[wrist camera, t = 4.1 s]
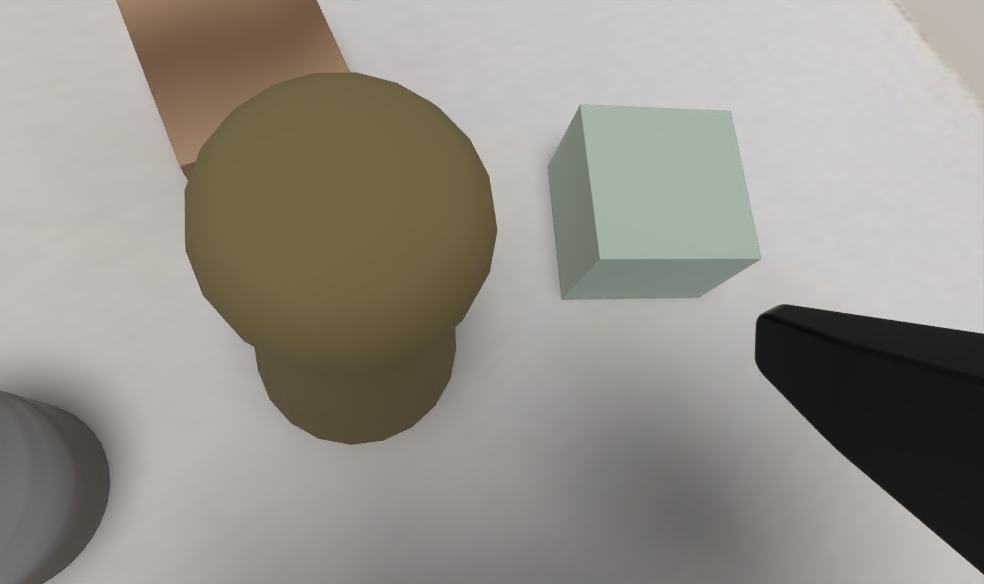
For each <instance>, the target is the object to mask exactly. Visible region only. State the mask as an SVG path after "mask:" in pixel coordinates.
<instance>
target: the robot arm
mask: <svg viewBox="0 0 984 584" xmlns="http://www.w3.org/2000/svg"><path fill="white" fill-rule="evenodd" d="M755 361H756V364H757V367H758V369H759V370H760V372H761V373H762V374H763V375H764V376H765V377H766V378H767V379H768V380H769V381H770V382H771V383H772V385H773V386H774V387H775V388H776V389H777V390H778V391H779V392H780V393H781V394H782V395H783V396H784V397H785V398H786V399H787V400H788V401H789V402H790V403H791V404H792V405H793V406H794V407H795V408H796V409H797V410H798V411H799V412H800V413H801V414H802V415H803V416H804V417H805V418H806V419H807V420H808V421H809V422H810V423H811V424H812V425H813V426H814V428H815V429H816V430H817V431H818V432H819V433H820V434H821V435H822V436H823V437H824V438H825V439H826V440H827V441H828V442H830V443H831V444H832V445H833V446H834V447H835V448H836V449H837V450H838V451H839V452H840V453H841V454H843V455H844V456H845V457H846V458H847V459H848V460H849V461H850V462H852V463H853V464H854V465H855V466H856V467H858V468H859V469H860V470H861V471H862V472H863V473H865V474H866V475H867V476H868V477H869V478H871V479H872V480H873V481H874V482H875V483H876V484H878V485H879V486H880V487H881V488H882V489H883V490H885V491H886V492H887V493H888V494H889V495H891V496H892V497H893V498H894V499H895V500H896V501H898V502H899V503H900V504H901V505H902V506H903V507H905V508H906V509H907V510H908V511H909V512H911V513H912V514H913V515H914V516H915V517H916V518H918V519H919V520H920V521H921V522H922V523H924V524H925V525H926V526H927V527H928V528H929V529H931V530H932V531H933V532H934V533H935V534H936V535H938V536H939V537H940V538H941V539H942V540H944V541H945V542H946V543H947V544H948V545H949V546H951V547H952V548H953V549H954V550H955V551H956V552H958V553H959V554H960V555H961V556H962V557H964V558H965V559H966V560H967V561H968V562H969V563H971V564H972V565H973V566H974V567H975V568H976V569H978V570H979V571H980V572H981V573H982V574H984V334H982V333H975V332H968V331H962V330H955V329H948V328H942V327H935V326H928V325H921V324H915V323H908V322H901V321H895V320H888V319H881V318H874V317H868V316H861V315H854V314H848V313H841V312H834V311H828V310H821V309H814V308H807V307H801V306H794V305H787V304H782V305H778V306H776V307H774V308H772V309H770V310H768V311H766V312H764V313H762V314H761V315H760V316H759V317H758V319H757V321H756V333H755Z"/></svg>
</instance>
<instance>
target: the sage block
mask: <svg viewBox="0 0 984 584" xmlns="http://www.w3.org/2000/svg"><path fill="white" fill-rule="evenodd" d="M548 174H549V184H550V193H551V202H552V212H553V221H554V231H555V240H556V250H557V259H558V268H559V278H560V287H561V297H562V300H571V299H634V298H698V297H700V296H702V295H704V294H705V293H707V292H708V291H710V290H712V289H713V288H715V287H717V286H718V285H720V284H721V283H723V282H725V281H726V280H728V279H729V278H731V277H733V276H734V275H736V274H738V273H739V272H741V271H742V270H744V269H746V268H747V267H749V266H750V265H752V264H754V263H755V262H757V261H759V260H760V259H761V254H760V249H759V244H758V239H757V235H756V230H755V225H754V220H753V215H752V210H751V205H750V201H749V196H748V191H747V186H746V181H745V176H744V172H743V167H742V162H741V157H740V152H739V147H738V143H737V138H736V133H735V128H734V123H733V118H732V114H731V111H718V110H695V109H672V108H649V107H626V106H604V105H581V104H580V106H579V108H578V110H577V112H576V114H575V116H574V118H573V119H572V121H571V123H570V125H569V127H568V129H567V131H566V133H565V135H564V137H563V138H562V140H561V142H560V144H559V146H558V148H557V150H556V152H555V154H554V156H553V158H552V159H551V161H550V163H549V165H548Z"/></svg>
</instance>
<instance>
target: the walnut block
mask: <svg viewBox="0 0 984 584" xmlns="http://www.w3.org/2000/svg"><path fill="white" fill-rule="evenodd" d="M116 1H117V4H118V6H119V9H120V12H121V14H122V17H123V19H124V22H125V25H126V27H127V30H128V32H129V35H130V38H131V40H132V43H133V46H134V48H135V51H136V53H137V56H138V59H139V61H140V64H141V66H142V69H143V72H144V74H145V77H146V79H147V82H148V85H149V87H150V90H151V92H152V95H153V98H154V100H155V103H156V105H157V108H158V111H159V113H160V116H161V119H162V121H163V124H164V126H165V129H166V132H167V134H168V137H169V139H170V142H171V145H172V147H173V150H174V152H175V155H176V158H177V160H178V163H179V165H180V167H181V169H182V171H183V173H184V174H185V176H186V178H187V180H189V178H190V175H191V172H192V170H193V167H194V164H195V162H196V159H197V156H198V154H199V151H200V148H201V147H202V146H203V145H204V143H205V142H206V141H207V140H208V139H209V137H210V136H211V135H212V134H213V133H214V131H215V130H216V129H217V128H218V127H219V125H220V124H221V123H222V122H223V121H224V120H225V118H226V117H227V116H228V115H229V114H230V113H231V112H232V111H233V110H234V109H235V108H237V107H238V106H240V105H241V104H243V103H244V102H246V101H248V100H249V99H251V98H252V97H254V96H255V95H257V94H259V93H260V92H262V91H263V90H265V89H267V88H268V87H270V86H271V85H273V84H277V83H280V82H284V81H287V80H291V79H294V78H298V77H301V76H305V75H308V74H312V73H350V71H349V69H348V67H347V64H346V62H345V60H344V58H343V56H342V54H341V52H340V49H339V47H338V45H337V43H336V41H335V39H334V37H333V34H332V32H331V30H330V28H329V26H328V24H327V22H326V19H325V17H324V15H323V13H322V11H321V9H320V7H319V5H318V2H317V0H116Z"/></svg>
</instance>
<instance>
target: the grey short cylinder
mask: <svg viewBox="0 0 984 584" xmlns="http://www.w3.org/2000/svg"><path fill="white" fill-rule="evenodd" d="M109 488H110V475H109V467H108V462H107V458H106V455H105V452H104V450H103V448H102V446H101V443H100V442H99V440H98V439H97V437H96V436H95V434H94V433H93V432H92V430H91V429H90V428H89V427H88V426H87V425H86V424H85V423H83V422H82V421H81V420H80V419H78V418H77V417H76V416H74V415H72V414H70V413H69V412H67V411H64V410H62V409H59V408H57V407H54V406H51V405H47V404H44V403H40V402H37V401H33V400H30V399H27V398H23V397H20V396H16V395H13V394H9V393H6V392H3V391H0V584H43V583H44V582H46V581H48V580H50V579H51V578H53V577H54V576H55V575H57V574H58V573H60V572H61V571H62V570H63V569H65V568H66V567H67V566H68V565H69V564H70V563H71V562H72V561H74V560H75V558H76V557H77V556H78V555H79V554H80V553H81V552H82V551H83V550H84V548H85V547H86V545H87V544H88V543H89V541H90V540H91V539H92V537H93V535H94V533H95V532H96V530H97V528H98V526H99V524H100V522H101V519H102V517H103V515H104V512H105V508H106V505H107V501H108V495H109Z"/></svg>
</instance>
